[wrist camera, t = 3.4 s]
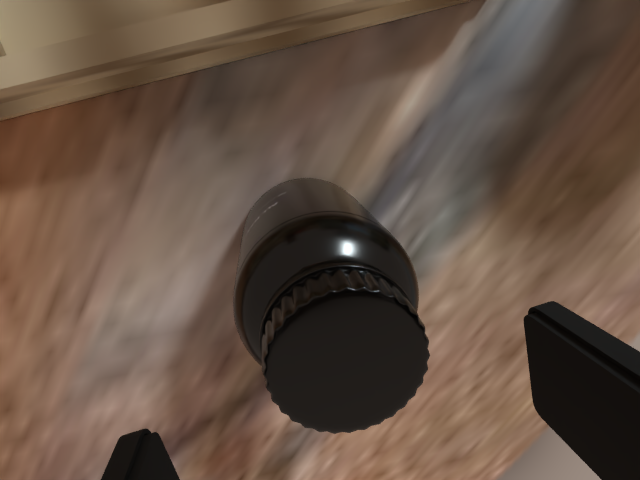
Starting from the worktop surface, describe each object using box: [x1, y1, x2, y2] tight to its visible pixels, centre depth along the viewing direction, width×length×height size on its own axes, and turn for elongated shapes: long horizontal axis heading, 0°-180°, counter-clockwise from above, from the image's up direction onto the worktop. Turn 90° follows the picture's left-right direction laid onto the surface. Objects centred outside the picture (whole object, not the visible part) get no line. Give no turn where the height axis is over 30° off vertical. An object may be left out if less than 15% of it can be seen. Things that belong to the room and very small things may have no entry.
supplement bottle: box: [233, 178, 430, 434], centre depth 17 cm, size 7×7×12 cm
